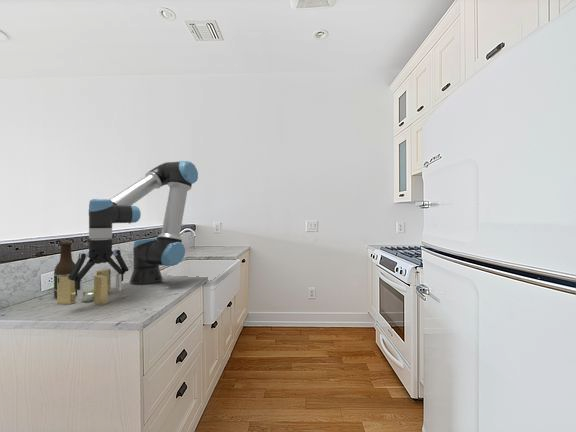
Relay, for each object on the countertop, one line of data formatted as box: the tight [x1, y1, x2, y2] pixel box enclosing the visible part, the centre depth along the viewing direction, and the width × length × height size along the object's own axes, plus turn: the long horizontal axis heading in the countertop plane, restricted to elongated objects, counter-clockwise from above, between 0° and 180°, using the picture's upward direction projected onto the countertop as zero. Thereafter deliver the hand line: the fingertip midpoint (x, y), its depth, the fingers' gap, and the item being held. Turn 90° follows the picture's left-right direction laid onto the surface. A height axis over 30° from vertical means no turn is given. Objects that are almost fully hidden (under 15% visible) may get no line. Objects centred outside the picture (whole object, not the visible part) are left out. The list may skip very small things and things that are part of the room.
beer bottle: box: [53, 241, 77, 300], centre depth 118 cm, size 8×8×24 cm
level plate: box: [80, 288, 94, 304], centre depth 113 cm, size 21×21×5 cm
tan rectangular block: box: [56, 275, 76, 305], centre depth 109 cm, size 6×2×10 cm, turn 83°
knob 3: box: [93, 274, 109, 306], centre depth 109 cm, size 6×2×10 cm, turn 59°
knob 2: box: [96, 268, 112, 295], centre depth 120 cm, size 6×2×10 cm, turn 179°
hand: (100, 293), depth 108 cm, fingers open, 13 cm apart
